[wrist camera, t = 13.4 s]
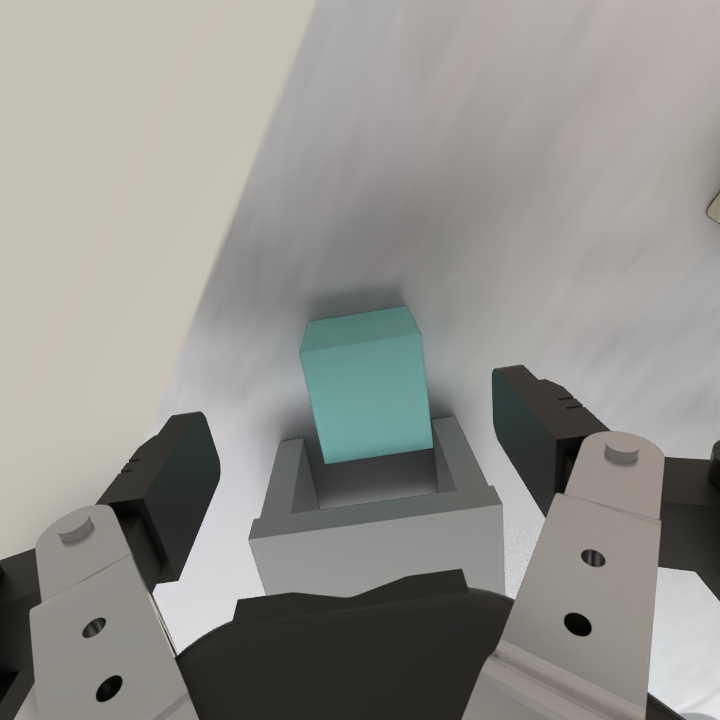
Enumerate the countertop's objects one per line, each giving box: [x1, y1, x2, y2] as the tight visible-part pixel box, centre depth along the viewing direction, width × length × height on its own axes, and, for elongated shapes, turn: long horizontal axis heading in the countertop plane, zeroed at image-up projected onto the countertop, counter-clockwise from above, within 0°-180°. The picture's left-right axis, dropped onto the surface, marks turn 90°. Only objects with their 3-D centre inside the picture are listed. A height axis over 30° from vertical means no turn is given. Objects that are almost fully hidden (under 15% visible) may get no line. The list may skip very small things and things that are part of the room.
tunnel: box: [248, 416, 505, 597], centre depth 19 cm, size 9×6×7 cm
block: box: [300, 306, 433, 464], centre depth 18 cm, size 4×5×4 cm
